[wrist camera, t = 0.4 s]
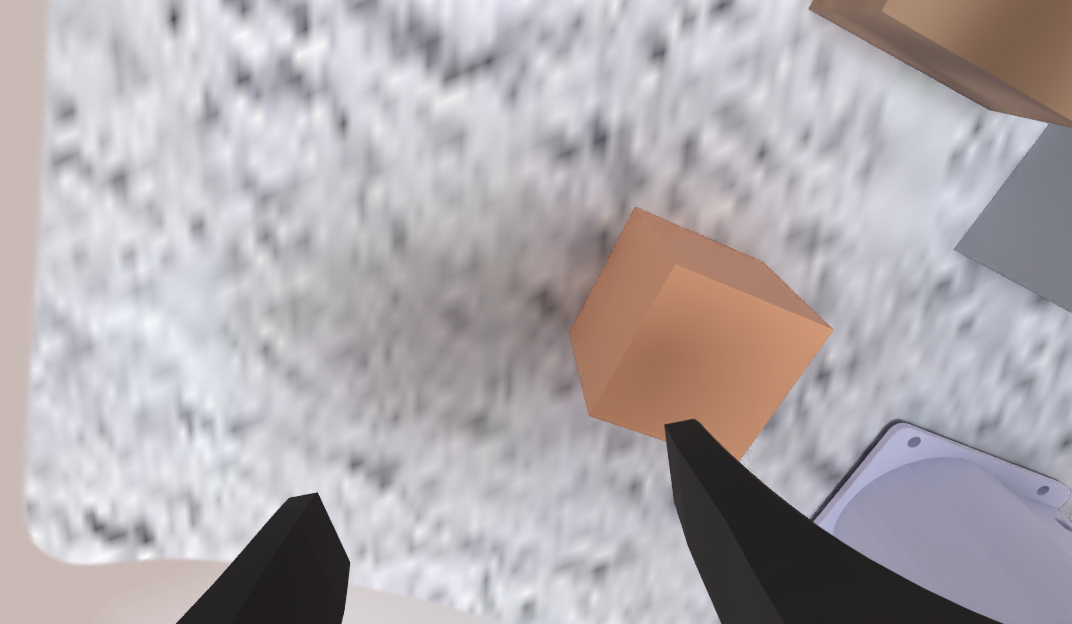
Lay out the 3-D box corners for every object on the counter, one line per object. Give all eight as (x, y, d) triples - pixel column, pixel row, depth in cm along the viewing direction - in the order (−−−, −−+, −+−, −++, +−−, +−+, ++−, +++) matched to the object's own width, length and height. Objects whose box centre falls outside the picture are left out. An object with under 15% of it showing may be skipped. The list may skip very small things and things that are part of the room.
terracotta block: (762, 261, 22) (833, 329, 17) (689, 376, 23) (736, 465, 19) (634, 206, 20) (675, 264, 16) (568, 332, 22) (588, 415, 18)
